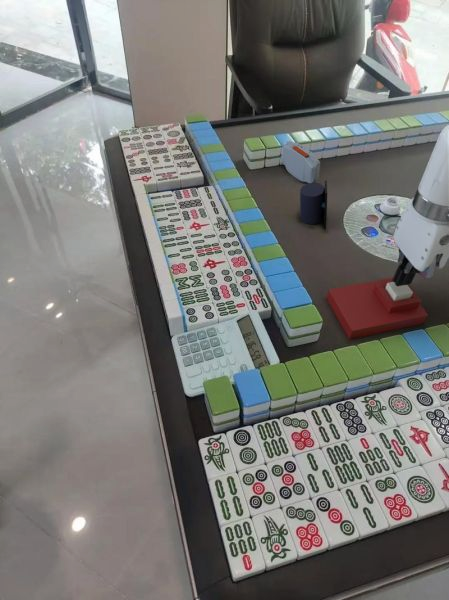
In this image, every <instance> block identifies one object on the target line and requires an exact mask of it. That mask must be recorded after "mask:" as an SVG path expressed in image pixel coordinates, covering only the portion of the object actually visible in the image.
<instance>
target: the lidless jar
mask: <svg viewBox="0 0 449 600" xmlns="http://www.w3.org/2000/svg"><path fill="white" fill-rule="evenodd" d="M379 210H380V211H381V212H382V213H383V214H385V215H389V216H396V215H398V214H400V212H401V205H400V201H399V199H398V198H397V197H393V196H390V197H387V198H386V199H385V200H384V201H382V202H381V203H380V205H379Z"/></svg>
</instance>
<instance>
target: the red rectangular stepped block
mask: <svg viewBox="0 0 449 600" xmlns="http://www.w3.org/2000/svg"><path fill="white" fill-rule="evenodd" d="M392 279H393V277H388V278H383V279H378V280H377V279H376V280H373V281H367V282H362V283H356V284H351V285H346V286H340V287H335V288H330V289H328V291H327V295H326V300H327V302H328V304H329V305H330V307H331V309H332V311H333V313H334V314H335V316H336V318H337V320H338V322H339V324H340V325H341V327H342V329H343V330H344V332H345V334H346V336H347V338H348V340H353V339H358V338H361V337H367V336H372V335H377V334H381V333H385V332H391V331H396V330H399V329H405V328H409V327H413V326H414V327H415V326H419V325H423V324H424V323H425V321H426V320H427V318H428V316H429V315H428V313H427V311H426V310H425V309H424V308H423V306H422V305H421V304H422V300H421V298H420V297H419V296H418V294H417V293H416V292H415V291H414V289H413V287H411V284H409V285H408V286H409V288H410V289H411V290H412V292H413V294H412V296H411V298H410V299H405V300H400V301H395V302H394V301H393V300H392V298H391V297H390V295H389V294H388V293H387V291H386V290H385V288H386V285H387V283H390V282H393V281H392Z"/></svg>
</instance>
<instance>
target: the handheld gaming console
mask: <svg viewBox="0 0 449 600" xmlns="http://www.w3.org/2000/svg"><path fill="white" fill-rule="evenodd" d="M282 146H283V147H282V153H281V157H280V160H281V163H282V164H283V166H284V167H285V169H286V171H287V172H288V174H290V175H291V176H292V177H294V178H295V179H296V180H298V181H300V182H302V183H307V184H308V183H317V182H318V181H319V180H320V173H321V161H320V160H319V159H318V158H317V156H316V155H315V154H314V153H313V152H312V151H310V150H309V149H308V148H306V147H305V146H303V145H302V144H300V143H299V142H293V141H292V140H288V141H286V142H285V144H283V145H282Z"/></svg>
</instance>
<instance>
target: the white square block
mask: <svg viewBox="0 0 449 600" xmlns="http://www.w3.org/2000/svg"><path fill="white" fill-rule="evenodd" d="M385 290H386V291H387V293H388V294H389V295H390V297H391V298H392V300H393V301H394V302H395V301H400V300H405V299H410V298H411V296H412V294H413V292H412V290H411V289H410V288H409V286H408V285H402V286H396V285H395V283H394V282H390V283H387V285H386V288H385Z"/></svg>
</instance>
